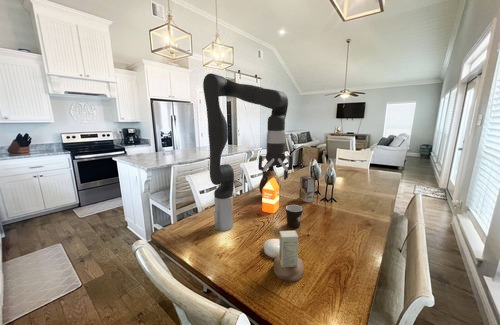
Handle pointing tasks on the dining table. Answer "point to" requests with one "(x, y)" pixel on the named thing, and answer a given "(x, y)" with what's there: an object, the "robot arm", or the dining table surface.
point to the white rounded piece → (272, 247)
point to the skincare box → (288, 248)
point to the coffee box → (307, 188)
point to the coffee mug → (293, 216)
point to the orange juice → (270, 196)
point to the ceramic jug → (269, 175)
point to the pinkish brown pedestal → (289, 271)
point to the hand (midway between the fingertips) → (275, 179)
